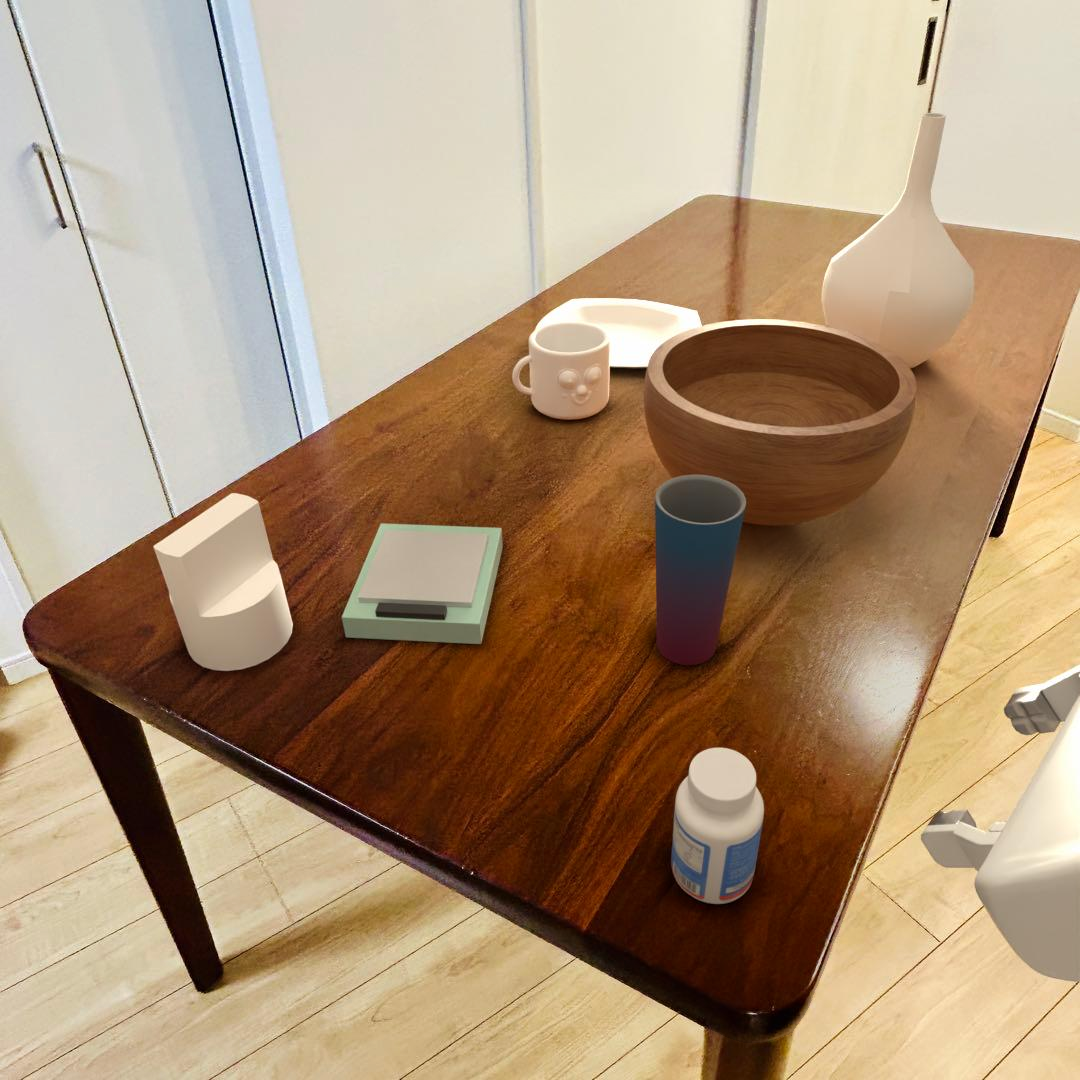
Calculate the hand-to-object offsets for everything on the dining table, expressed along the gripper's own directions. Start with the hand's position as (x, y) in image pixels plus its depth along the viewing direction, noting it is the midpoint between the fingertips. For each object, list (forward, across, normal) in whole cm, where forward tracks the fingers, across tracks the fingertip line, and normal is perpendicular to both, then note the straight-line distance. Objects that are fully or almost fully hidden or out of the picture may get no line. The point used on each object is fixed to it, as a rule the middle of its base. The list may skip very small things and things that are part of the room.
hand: (977, 771), depth 41 cm
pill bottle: (+23, 0, +5) cm, 23 cm away
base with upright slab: (+54, +8, -26) cm, 60 cm away
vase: (+42, -81, -13) cm, 92 cm away
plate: (+63, -62, -34) cm, 94 cm away
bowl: (+37, -39, -9) cm, 55 cm away
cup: (+32, -17, -4) cm, 37 cm away
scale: (+48, -7, -20) cm, 53 cm away
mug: (+58, -42, -30) cm, 77 cm away
